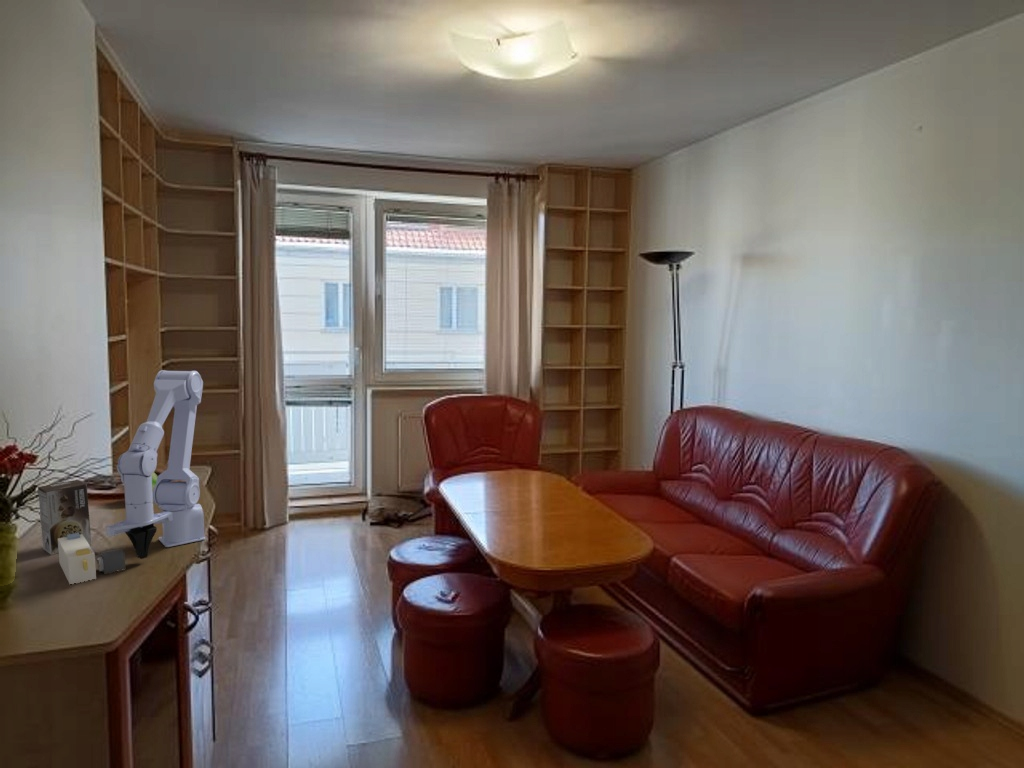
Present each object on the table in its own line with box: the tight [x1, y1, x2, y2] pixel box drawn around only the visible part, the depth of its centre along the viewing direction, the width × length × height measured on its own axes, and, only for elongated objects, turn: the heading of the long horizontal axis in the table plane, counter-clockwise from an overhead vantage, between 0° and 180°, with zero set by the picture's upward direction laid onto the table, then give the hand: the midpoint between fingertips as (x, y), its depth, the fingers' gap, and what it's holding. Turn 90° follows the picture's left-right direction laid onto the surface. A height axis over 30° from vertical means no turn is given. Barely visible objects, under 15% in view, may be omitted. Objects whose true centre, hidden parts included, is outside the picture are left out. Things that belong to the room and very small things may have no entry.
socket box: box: [58, 533, 97, 585], centre depth 158 cm, size 5×19×7 cm, turn 40°
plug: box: [96, 548, 126, 575], centre depth 159 cm, size 5×4×4 cm
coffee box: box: [37, 479, 93, 556], centre depth 172 cm, size 9×6×16 cm
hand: (142, 557), depth 163 cm, fingers closed
